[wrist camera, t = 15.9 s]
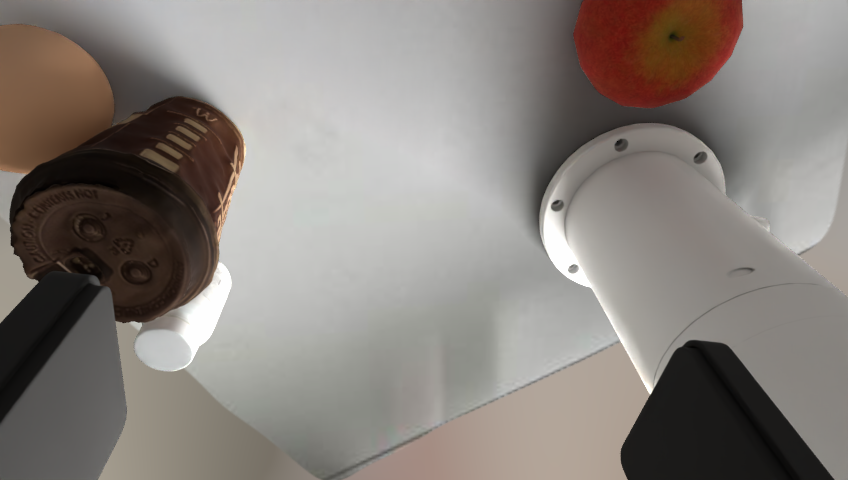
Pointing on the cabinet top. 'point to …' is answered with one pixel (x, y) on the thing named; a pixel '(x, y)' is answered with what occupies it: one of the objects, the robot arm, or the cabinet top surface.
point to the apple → (655, 46)
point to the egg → (47, 97)
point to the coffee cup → (135, 207)
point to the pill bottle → (183, 327)
